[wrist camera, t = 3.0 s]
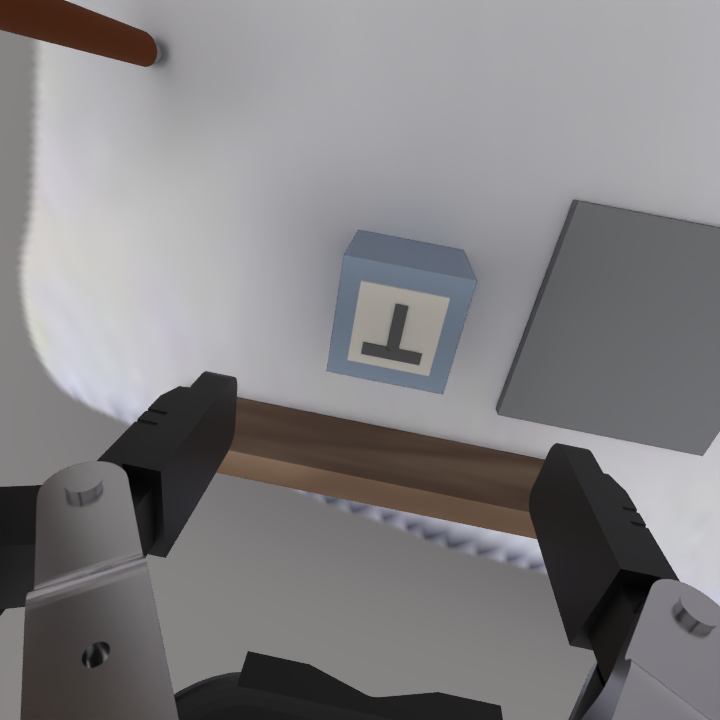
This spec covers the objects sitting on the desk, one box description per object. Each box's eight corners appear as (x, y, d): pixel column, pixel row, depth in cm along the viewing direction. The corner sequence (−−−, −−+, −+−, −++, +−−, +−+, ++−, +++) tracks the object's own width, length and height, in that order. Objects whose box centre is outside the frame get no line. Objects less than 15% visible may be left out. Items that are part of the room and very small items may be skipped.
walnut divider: (185, 387, 26) (143, 432, 22) (559, 463, 25) (586, 524, 21) (186, 409, 27) (146, 457, 23) (548, 483, 26) (573, 546, 22)
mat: (573, 199, 19) (578, 201, 19) (828, 248, 19) (840, 251, 18) (495, 408, 24) (497, 414, 24) (696, 449, 24) (702, 456, 23)
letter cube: (358, 229, 21) (342, 257, 16) (463, 249, 21) (477, 282, 16) (343, 325, 23) (325, 374, 18) (437, 344, 23) (443, 397, 18)
